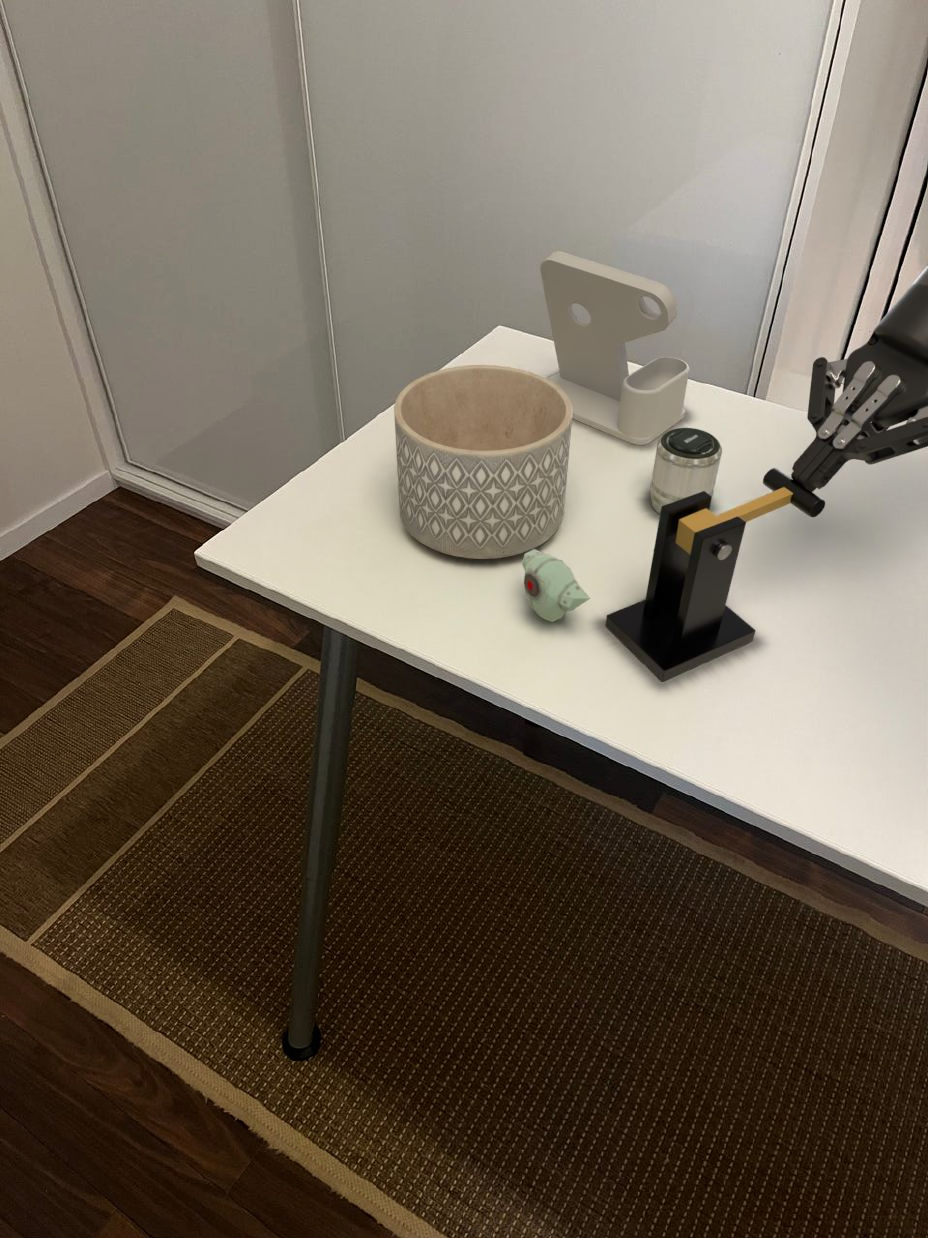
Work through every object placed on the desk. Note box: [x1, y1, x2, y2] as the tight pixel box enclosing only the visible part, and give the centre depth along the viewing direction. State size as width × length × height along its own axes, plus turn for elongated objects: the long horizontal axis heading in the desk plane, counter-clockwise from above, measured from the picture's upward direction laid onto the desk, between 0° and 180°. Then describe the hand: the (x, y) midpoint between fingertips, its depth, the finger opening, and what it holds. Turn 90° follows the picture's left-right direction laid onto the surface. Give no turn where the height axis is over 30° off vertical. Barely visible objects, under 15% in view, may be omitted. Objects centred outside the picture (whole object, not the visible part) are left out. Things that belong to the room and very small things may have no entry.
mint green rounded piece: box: [521, 548, 591, 622], centre depth 81 cm, size 8×4×7 cm, turn 33°
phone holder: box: [539, 250, 690, 446], centre depth 106 cm, size 17×10×18 cm, turn 49°
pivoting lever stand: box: [605, 491, 756, 683], centre depth 78 cm, size 10×8×13 cm
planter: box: [393, 364, 573, 560], centre depth 91 cm, size 16×16×13 cm
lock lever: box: [676, 467, 826, 554], centre depth 76 cm, size 12×6×2 cm, turn 120°
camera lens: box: [650, 427, 723, 515], centre depth 94 cm, size 6×6×8 cm
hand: (800, 484), depth 78 cm, fingers closed
